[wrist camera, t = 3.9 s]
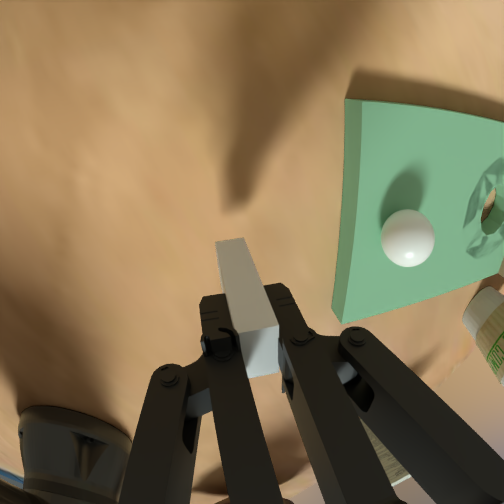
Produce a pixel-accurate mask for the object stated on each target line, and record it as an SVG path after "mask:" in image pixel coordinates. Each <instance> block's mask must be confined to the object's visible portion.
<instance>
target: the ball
mask: <svg viewBox="0 0 504 504" xmlns="http://www.w3.org/2000/svg"><path fill="white" fill-rule="evenodd" d="M434 243H435V234H434V229H433V227H432V224H431V223H430V221H429V220H428V219H427V217H425V216H424V215H423V214H422V213H420V212H418V211H415V210H411V209H404V210H400V211H397V212H395V213H393V214H392V215H391V216H390V217H389V218H388V219H387V220H386V221H385V223H384V225H383V227H382V231H381V245H382V248H383V251H384V253H385V254H386V256H387V257H388V258H389V259H390V260H391V261H392V262H393V263H395V264H397V265H400V266H403V267H413V266H417V265H419V264H421V263H423V262H424V261H425V260H426V259H427V258H428V257H429V256H430V254H431V252H432V250H433V248H434Z"/></svg>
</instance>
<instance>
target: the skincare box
mask: <svg viewBox="0 0 504 504" xmlns="http://www.w3.org/2000/svg"><path fill="white" fill-rule="evenodd" d="M360 420H361V422H362V424H363V427H364V429H365V431H366V433H367V435H368V437H369V439H370V441H371V443H372V445H373V447H374V449H375V451H376V453H377V456H378V458H379V460H380V462H381V464H382V466H383V468H384V470H385V472H386V474H387V477H388V479H389V481H390V483H391V485H392V487H393V486H395V485H397V484H398V483H400V482H402V481H404V480H406V479H408V478H410V477H411V475H410V474H409V473H408V472H407V471H406V470H405V468H404V467H403V466H402V465H401V464H400V463H399V462H398V461H397V459H396V458H395V457H394V456H393V455H392V454H391V453H390V451H389V450H388V449H387V448H386V447H385V446H384V445H383V444H382V442H381V441H380V440H379V439H378V438H377V437H376V436H375V434H374V433H373V432H372V431H371V430H370V429H369V427H368V426H367V425H366V424H365V423H364V422H363V421H362V419H361V418H360Z"/></svg>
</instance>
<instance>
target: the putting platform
mask: <svg viewBox="0 0 504 504" xmlns="http://www.w3.org/2000/svg"><path fill="white" fill-rule="evenodd" d="M494 188H496V197H495V201H494V206H493V208H492V210H491V212H490V214H489V215H488V217H487V218H486V219H485V220H484V221H483V222H482V223H481V215H482V211H483V207H484V204H485V202H486V200H487V198H488V196H489V194H490V192H491V191H492V190H493V189H494ZM404 209H411V210H415V211H418V212H420V213H422V214H423V215H424V216H425V217H427V219H428V220H429V221H430V223H431V224H432V227H433V229H434V234H435V243H434V248H433V250H432V252H431V254H430V256H429V257H428V258H427V259H426V260H425V261H424V262H423V263H421V264H419V265H417V266H413V267H403V266H400V265H397V264H395V263H393V262H392V261H391V260H390V259H389V258H388V257H387V256H386V254H385V253H384V251H383V248H382V245H381V231H382V227H383V225H384V223H385V221H386V220H387V219H388V218H389V217H390V216H391V215H392V214H393V213H395V212H397V211H400V210H404ZM497 273H498V274H500V275H501V276H502V277H503V278H504V122H502V121H498V120H494V119H490V118H486V117H482V116H477V115H473V114H468V113H463V112H458V111H452V110H447V109H441V108H435V107H428V106H421V105H414V104H405V103H397V102H386V101H375V100H361V99H345V143H344V173H343V193H342V209H341V222H340V235H339V246H338V256H337V266H336V275H335V284H334V292H333V300H332V310H333V312H334V313H335V315H336V316H337V318H338V320H339V321H340V323H341V324H345V323H349V322H352V321H356V320H360V319H363V318H367V317H370V316H374V315H378V314H381V313H384V312H388V311H391V310H394V309H398V308H401V307H404V306H407V305H411V304H414V303H417V302H420V301H423V300H426V299H429V298H432V297H435V296H438V295H441V294H444V293H447V292H449V291H452V290H455V289H458V288H461V287H463V286H466V285H469V284H471V283H474V282H477V281H479V280H482V279H484V278H487V277H489V276H492V275H494V274H497Z"/></svg>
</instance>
